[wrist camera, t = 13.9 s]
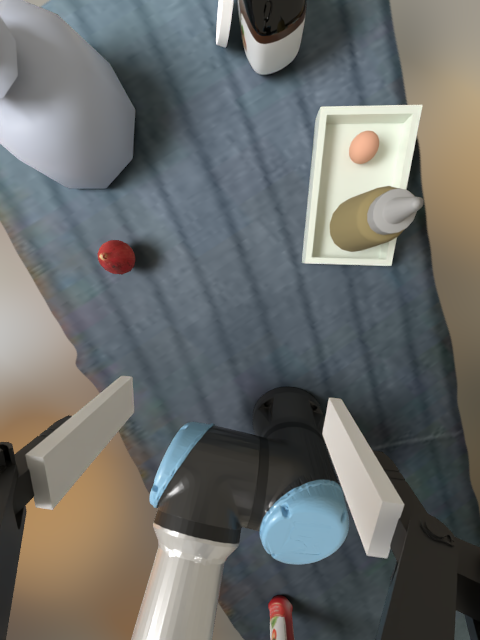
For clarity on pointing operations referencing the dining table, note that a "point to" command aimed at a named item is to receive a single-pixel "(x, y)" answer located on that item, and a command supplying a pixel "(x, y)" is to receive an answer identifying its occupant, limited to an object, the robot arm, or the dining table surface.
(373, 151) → the egg
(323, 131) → the tray
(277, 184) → the dining table surface
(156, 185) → the dining table surface
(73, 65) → the bottle
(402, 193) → the squeeze bottle
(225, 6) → the spread jar
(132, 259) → the red fruit
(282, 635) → the liquor
